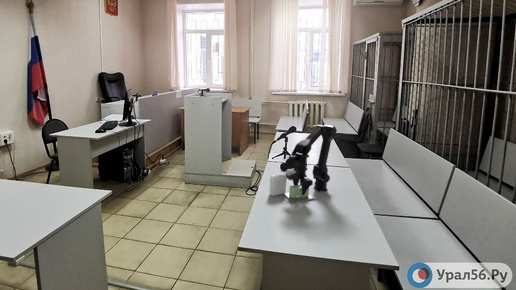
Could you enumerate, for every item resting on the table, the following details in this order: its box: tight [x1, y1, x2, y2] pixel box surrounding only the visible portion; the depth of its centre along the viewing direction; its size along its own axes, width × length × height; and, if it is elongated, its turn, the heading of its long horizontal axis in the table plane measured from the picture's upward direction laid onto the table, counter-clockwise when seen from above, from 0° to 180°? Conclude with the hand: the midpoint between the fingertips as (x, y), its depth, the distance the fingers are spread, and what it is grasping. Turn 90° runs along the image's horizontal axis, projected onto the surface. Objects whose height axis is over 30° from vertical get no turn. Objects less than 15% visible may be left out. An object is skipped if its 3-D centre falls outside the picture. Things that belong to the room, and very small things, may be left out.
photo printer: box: [268, 172, 287, 197], centre depth 190 cm, size 10×4×12 cm, turn 123°
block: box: [288, 184, 310, 198], centre depth 187 cm, size 10×4×6 cm, turn 110°
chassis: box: [283, 192, 315, 203], centre depth 187 cm, size 14×11×4 cm
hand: (299, 192), depth 187 cm, fingers open, 9 cm apart
